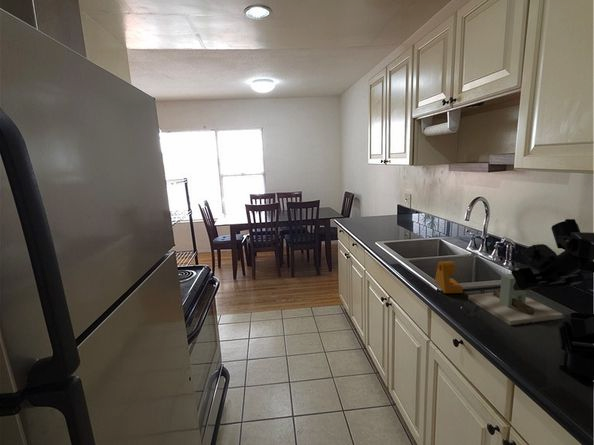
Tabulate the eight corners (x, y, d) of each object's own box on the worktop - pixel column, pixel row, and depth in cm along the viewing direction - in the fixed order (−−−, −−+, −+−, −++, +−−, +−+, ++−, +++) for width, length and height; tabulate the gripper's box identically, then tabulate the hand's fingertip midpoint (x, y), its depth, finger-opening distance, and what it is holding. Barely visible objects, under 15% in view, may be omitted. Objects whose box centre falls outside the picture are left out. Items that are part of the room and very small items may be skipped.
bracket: (463, 295, 126) (465, 265, 124) (444, 295, 127) (445, 266, 125) (452, 284, 137) (453, 257, 135) (434, 284, 138) (436, 257, 135)
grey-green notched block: (524, 305, 112) (527, 276, 110) (507, 307, 111) (510, 278, 109) (515, 300, 116) (518, 273, 114) (499, 302, 115) (501, 274, 113)
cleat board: (562, 318, 106) (563, 308, 105) (509, 325, 103) (510, 315, 102) (513, 293, 125) (514, 285, 124) (468, 299, 123) (468, 290, 122)
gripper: (578, 235, 91) (540, 260, 104) (519, 240, 89) (487, 266, 101) (604, 271, 85) (560, 293, 98) (542, 277, 82) (505, 300, 95)
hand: (527, 287), depth 98 cm, fingers open, 9 cm apart
